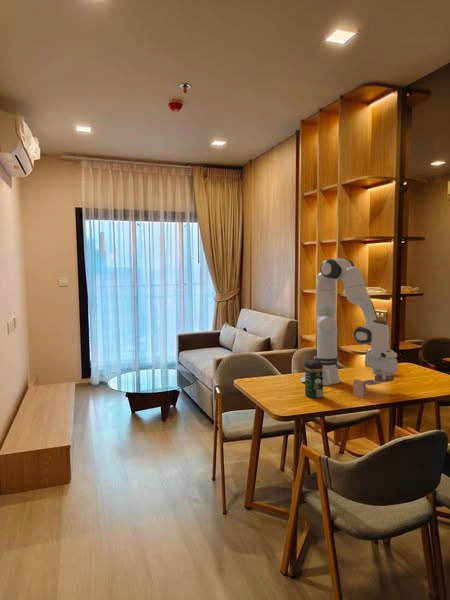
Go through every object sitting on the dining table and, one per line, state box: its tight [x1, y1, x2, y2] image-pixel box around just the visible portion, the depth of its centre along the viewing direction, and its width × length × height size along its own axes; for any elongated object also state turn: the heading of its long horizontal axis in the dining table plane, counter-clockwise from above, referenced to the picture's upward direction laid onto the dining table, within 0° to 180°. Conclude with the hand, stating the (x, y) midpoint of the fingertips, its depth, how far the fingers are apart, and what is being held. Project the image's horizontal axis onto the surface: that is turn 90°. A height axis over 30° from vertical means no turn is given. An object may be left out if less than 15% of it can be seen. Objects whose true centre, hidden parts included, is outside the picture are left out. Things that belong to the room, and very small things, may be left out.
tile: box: [352, 378, 367, 400], centre depth 205 cm, size 2×7×8 cm, turn 21°
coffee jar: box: [304, 359, 324, 399], centre depth 207 cm, size 10×8×19 cm
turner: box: [363, 373, 395, 386], centre depth 209 cm, size 17×6×3 cm, turn 110°
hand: (380, 378), depth 209 cm, fingers closed on turner, 3 cm apart
